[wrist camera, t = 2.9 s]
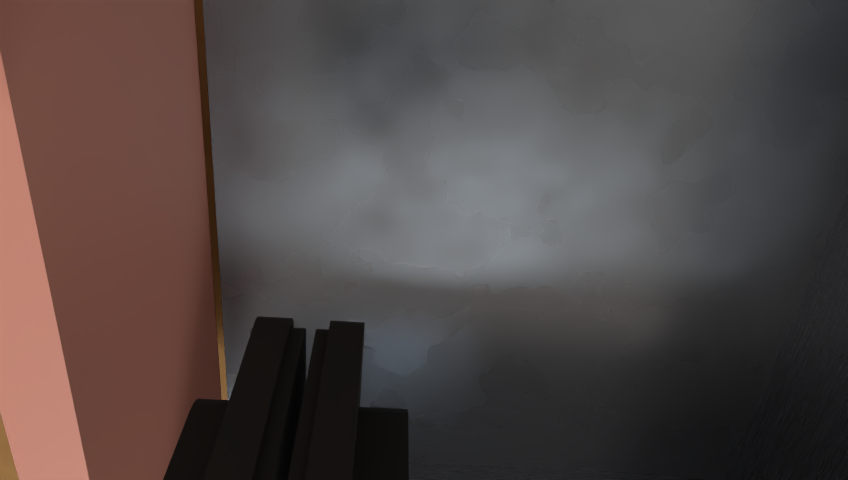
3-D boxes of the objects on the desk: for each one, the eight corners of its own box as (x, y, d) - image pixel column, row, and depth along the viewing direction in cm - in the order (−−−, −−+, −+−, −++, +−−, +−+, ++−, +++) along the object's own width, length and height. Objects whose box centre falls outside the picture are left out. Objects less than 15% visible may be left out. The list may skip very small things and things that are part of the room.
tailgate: (168, -355, 13) (-142, -633, 6) (226, 472, 23) (143, 738, 16) (103, -363, 13) (-296, -654, 6) (190, 470, 23) (90, 737, 16)
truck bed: (989, -237, 16) (1851, -393, 6) (715, 442, 27) (884, 768, 17) (220, -327, 15) (-123, -666, 5) (251, 414, 26) (152, 743, 16)
